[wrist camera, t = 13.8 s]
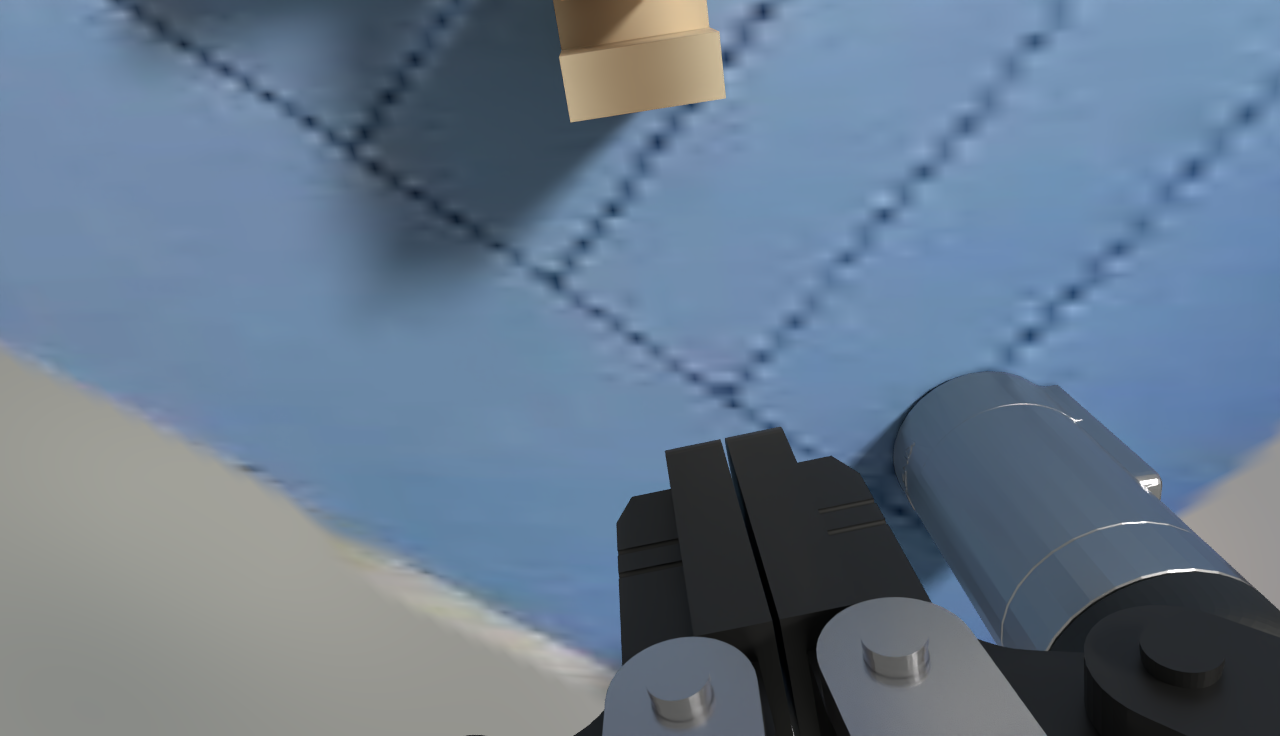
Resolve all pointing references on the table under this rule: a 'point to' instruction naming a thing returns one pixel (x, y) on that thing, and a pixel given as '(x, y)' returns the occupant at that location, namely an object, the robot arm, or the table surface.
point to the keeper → (637, 55)
